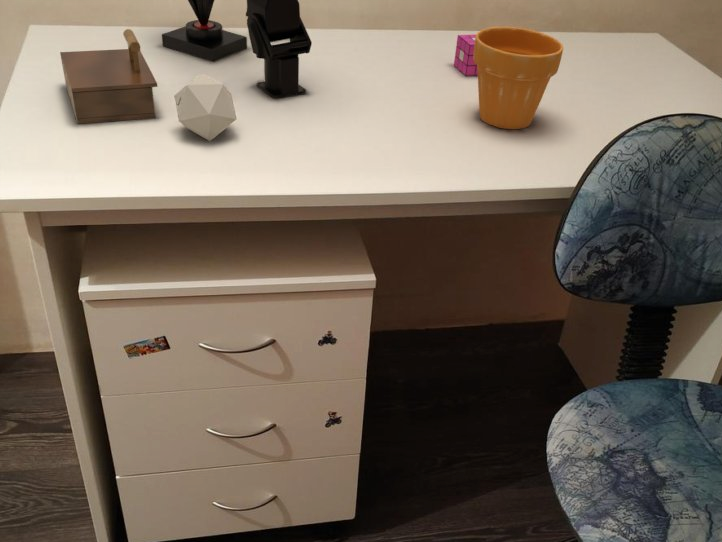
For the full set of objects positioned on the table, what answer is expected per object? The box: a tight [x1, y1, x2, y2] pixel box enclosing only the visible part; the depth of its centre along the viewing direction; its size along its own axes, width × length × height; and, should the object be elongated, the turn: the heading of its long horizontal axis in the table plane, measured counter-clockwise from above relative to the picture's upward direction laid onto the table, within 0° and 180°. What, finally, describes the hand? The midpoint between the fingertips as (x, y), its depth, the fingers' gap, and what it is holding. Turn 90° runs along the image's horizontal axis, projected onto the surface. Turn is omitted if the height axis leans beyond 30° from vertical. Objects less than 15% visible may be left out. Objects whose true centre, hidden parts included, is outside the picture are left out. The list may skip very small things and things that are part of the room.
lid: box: [59, 28, 158, 92], centre depth 124 cm, size 12×16×5 cm
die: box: [174, 73, 238, 142], centre depth 121 cm, size 8×9×10 cm
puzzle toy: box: [453, 34, 478, 77], centre depth 153 cm, size 6×6×6 cm
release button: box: [194, 22, 214, 29], centre depth 149 cm, size 4×4×2 cm
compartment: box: [60, 57, 156, 125], centre depth 127 cm, size 12×16×5 cm
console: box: [161, 19, 248, 63], centre depth 150 cm, size 12×10×4 cm
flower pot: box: [473, 26, 564, 130], centre depth 133 cm, size 14×14×13 cm
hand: (204, 24), depth 149 cm, fingers closed, pressing on release button
